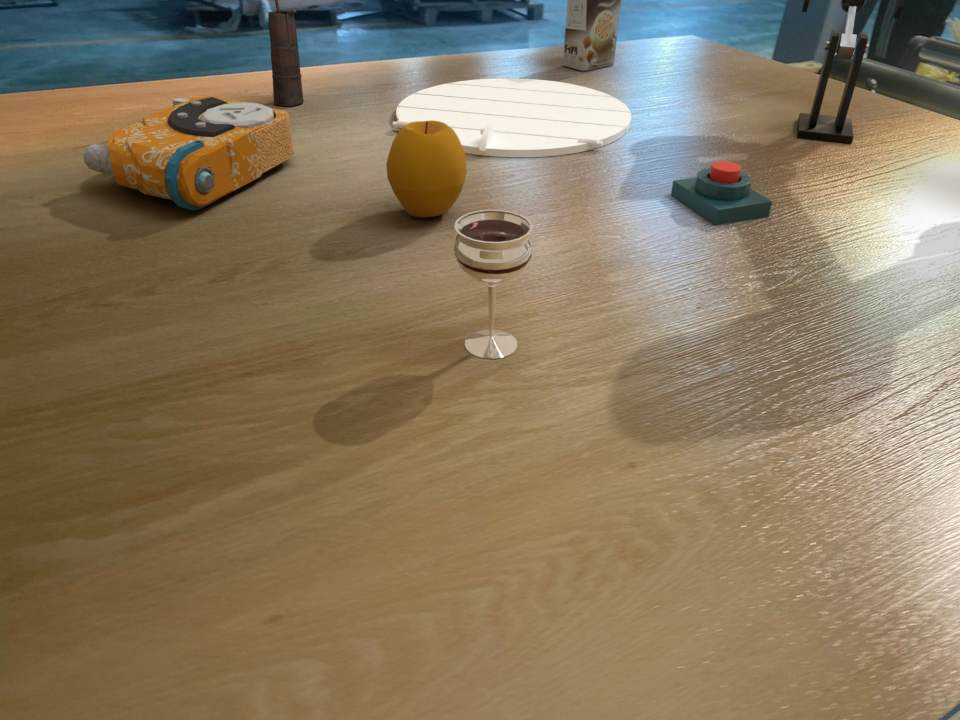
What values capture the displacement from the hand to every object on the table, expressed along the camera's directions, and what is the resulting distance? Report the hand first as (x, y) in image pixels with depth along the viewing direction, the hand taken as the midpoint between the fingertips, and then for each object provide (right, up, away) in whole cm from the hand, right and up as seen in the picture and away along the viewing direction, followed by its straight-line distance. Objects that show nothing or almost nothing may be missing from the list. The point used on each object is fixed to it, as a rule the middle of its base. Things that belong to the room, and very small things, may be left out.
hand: (851, 10), depth 120 cm
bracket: (-3, -18, +3) cm, 19 cm away
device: (-97, -28, -13) cm, 102 cm away
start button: (-28, -32, -24) cm, 49 cm away
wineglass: (-57, -54, -48) cm, 92 cm away
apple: (-65, -37, -24) cm, 79 cm away
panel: (-28, -35, -22) cm, 50 cm away
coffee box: (-36, +5, +37) cm, 52 cm away
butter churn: (-91, -10, +14) cm, 93 cm away
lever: (-1, -4, 0) cm, 4 cm away
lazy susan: (-53, -15, +8) cm, 56 cm away
